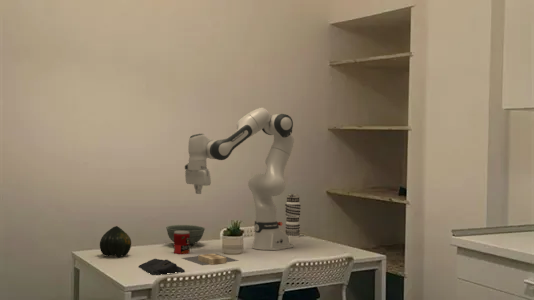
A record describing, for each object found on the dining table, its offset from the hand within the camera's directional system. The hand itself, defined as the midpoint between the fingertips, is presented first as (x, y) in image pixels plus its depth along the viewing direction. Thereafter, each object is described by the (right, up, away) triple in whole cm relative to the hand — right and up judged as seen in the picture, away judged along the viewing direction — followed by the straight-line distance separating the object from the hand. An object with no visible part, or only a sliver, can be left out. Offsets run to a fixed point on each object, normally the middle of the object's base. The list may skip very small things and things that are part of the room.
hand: (198, 193), depth 320 cm
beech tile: (+5, -29, -17) cm, 34 cm away
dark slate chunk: (-13, -32, -38) cm, 51 cm away
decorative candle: (+50, -29, +59) cm, 82 cm away
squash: (-40, -30, -9) cm, 50 cm away
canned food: (-8, -30, 0) cm, 31 cm away
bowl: (-9, -30, +23) cm, 39 cm away
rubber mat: (+7, -31, -16) cm, 35 cm away
